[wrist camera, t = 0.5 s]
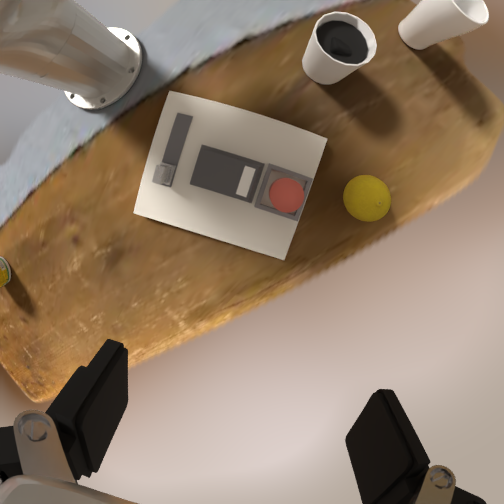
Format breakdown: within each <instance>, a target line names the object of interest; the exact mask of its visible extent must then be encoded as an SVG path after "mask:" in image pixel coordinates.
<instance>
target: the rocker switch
mask: <svg viewBox="0 0 504 504" xmlns="http://www.w3.org/2000/svg"><path fill="white" fill-rule="evenodd" d="M260 169H261V167H260V166H257V165H254V164H251V163H248V162H244V161H241V160H238V159H235V158H232V157H228V156H225V155H222V154H218V153H215V152H211V151H208V150H204V149H201V151H200V154H199V157H198V161H197V164H196V167H195V170H194V174H193V177H192V180H191V182H192V183H195V184H198V185H201V186H204V187H207V188H210V189H212V190H215V191H218V192H221V193H224V194H227V195H230V196H233V197H236V198H238V199H241V200H244V201H247V202H250V199H251V196H252V193H253V190H254V187H255V184H256V181H257V178H258V175H259V172H260Z"/></svg>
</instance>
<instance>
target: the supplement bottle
mask: <svg viewBox="0 0 504 504" xmlns="http://www.w3.org/2000/svg"><path fill="white" fill-rule="evenodd" d="M10 278H11V270H10V266H9V264H8V262H7V261H6V260H5V259H4V258H3V257H1V256H0V288H1V287H2V286H4V285H5V284H7V283H8V282H9V281H10Z"/></svg>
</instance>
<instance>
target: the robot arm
mask: <svg viewBox="0 0 504 504" xmlns="http://www.w3.org/2000/svg"><path fill="white" fill-rule="evenodd" d="M128 39H129V40H128ZM141 64H142V49H141V46H140V44H139V41H138V40H137V39H136V38H135V36H134V35H133V34H131V33H130V32H128V31H126V30H124V29H121V28H107V27H105V26H104V25H103V24H102V23H101V22H99V21H98V20H97V19H96V18H95V17H94V16H93V15H91V14H90V13H89V12H88V11H86V10H85V9H84V8H83V7H81V6H80V5H79V4H77V3H76V2H75V1H74V0H0V74H4V75H9V76H13V77H17V78H21V79H25V80H28V81H32V82H36V83H40V84H43V85H46V86H50V87H53V88H57V89H60V90H63V91H64V92H65V94H66V96H67V98H68V99H69V101H70V102H71V103H72V104H74V105H76V106H77V107H80V108H83V109H89V110H93V109H100V108H104V107H106V106H109V105H111V104H113V103H114V102H116V101H117V100H119V99H120V98H121V97H122V96H123V95H124V94H126V92H127V91H128V90H129V89H130V88H131V87H132V85H133V83H134V82H135V80H136V79H137V76H138V74H139V72H140V68H141ZM134 70H135V71H134ZM133 71H134V72H133ZM105 100H106V101H105ZM104 101H105V102H104ZM127 403H128V350H127V349H126V348H124V345H123V343H120V342H117V341H114V340H111V339H107V340H106V342H105V343H104V344H103V346H102V347H101V348H100V350H99V351H98V352H97V354H96V355H95V356H94V358H93V359H92V361H91V362H90V363H89V365H88V366H87V367H84V366H80V367H79V368H78V369H77V370H76V371H75V372H74V374H73V375H72V377H71V378H70V379H69V381H68V382H67V383H66V385H65V386H64V387H63V389H62V390H61V391H60V393H59V394H58V396H57V397H56V398H55V400H54V401H53V403H52V404H51V405H50V407H49V408H48V410H47V411H46V412H45V413H44V412H42V411H38V410H27V411H24V412H22V413H20V414H19V415H18V416H17V417H16V418H15V421H14V426H8V427H1V428H0V504H138V503H134V502H131V501H128V500H124V499H121V498H118V497H115V496H112V495H109V494H106V493H103V492H100V491H97V490H94V489H91V488H88V487H85V486H82V485H78V483H77V480H79V479H80V478H81V476H82V475H84V476H86V477H89V478H90V476H91V473H92V472H95V473H96V472H98V470H99V468H100V465H101V463H102V461H103V458H104V456H105V454H106V451H107V449H108V447H109V445H110V442H111V440H112V438H113V436H114V433H115V431H116V429H117V427H118V425H119V422H120V420H121V418H122V416H123V413H124V411H125V409H126V407H127ZM345 441H346V446H347V450H348V452H349V456H350V460H351V464H352V467H353V471H354V474H355V478H356V481H357V485H358V489H359V492H360V496H361V500H362V503H363V504H486V502H485V501H484V500H483V499H481V498H480V497H478V496H475V495H473V494H471V493H469V492H467V491H464V490H462V489H460V488H458V487H456V486H455V485H456V479H455V476H454V474H453V472H452V471H451V470H450V469H448V468H447V467H445V466H442V465H435V466H432V467H431V468H429V466H428V464H429V463H430V460H429V458H428V456H427V454H426V452H425V450H424V448H423V446H422V444H421V442H420V440H419V438H418V436H417V434H416V432H415V430H414V429H413V426H412V424H411V422H410V421H409V419H408V417H407V415H406V413H405V411H404V409H403V408H402V406H401V404H400V402H399V400H398V398H397V397H396V395H395V393H394V391H393V390H388V389H379V390H377V391H376V392H375V393H373V394H372V396H371V397H370V399H369V401H368V402H367V404H366V406H365V407H364V409H363V411H362V412H361V414H360V415H359V417H358V419H357V420H356V422H355V423H354V425H353V426H352V428H351V429H350V431H349V433H348V434H347V436H346V440H345Z"/></svg>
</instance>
